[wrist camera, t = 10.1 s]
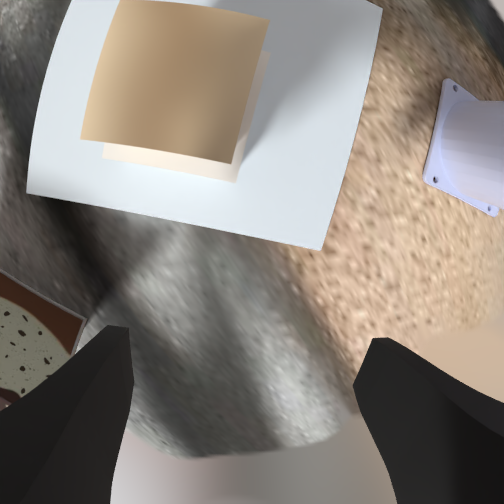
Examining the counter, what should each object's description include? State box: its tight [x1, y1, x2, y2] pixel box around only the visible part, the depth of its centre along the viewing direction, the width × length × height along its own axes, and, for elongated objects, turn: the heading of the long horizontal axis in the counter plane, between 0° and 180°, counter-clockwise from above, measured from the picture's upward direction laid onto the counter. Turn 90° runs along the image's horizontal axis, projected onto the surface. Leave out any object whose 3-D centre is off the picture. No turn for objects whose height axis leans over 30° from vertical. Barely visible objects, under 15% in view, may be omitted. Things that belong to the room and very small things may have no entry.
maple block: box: [80, 0, 270, 164], centre depth 9 cm, size 4×4×4 cm
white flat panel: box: [26, 0, 383, 251], centre depth 14 cm, size 18×16×1 cm
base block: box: [102, 50, 271, 183], centre depth 13 cm, size 6×6×3 cm
